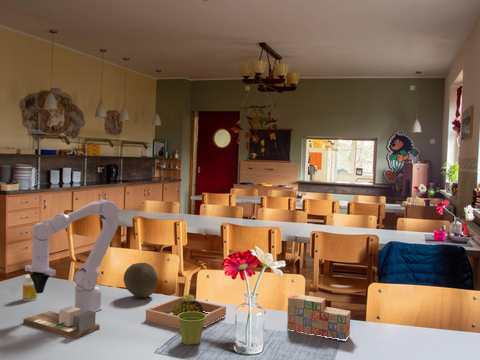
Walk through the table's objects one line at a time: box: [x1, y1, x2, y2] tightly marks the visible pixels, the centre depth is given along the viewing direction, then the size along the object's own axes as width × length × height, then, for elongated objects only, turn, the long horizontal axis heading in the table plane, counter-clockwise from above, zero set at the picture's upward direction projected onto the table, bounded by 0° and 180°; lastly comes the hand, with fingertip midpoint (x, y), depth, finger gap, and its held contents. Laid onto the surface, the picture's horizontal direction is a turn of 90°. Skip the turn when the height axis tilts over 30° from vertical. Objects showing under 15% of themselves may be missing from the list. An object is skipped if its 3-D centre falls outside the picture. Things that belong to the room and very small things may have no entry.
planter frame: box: [145, 296, 227, 330], centre depth 178 cm, size 21×22×4 cm
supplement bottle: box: [22, 274, 38, 302], centre depth 195 cm, size 5×5×10 cm
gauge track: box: [22, 310, 100, 339], centre depth 165 cm, size 11×26×6 cm, turn 60°
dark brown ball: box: [123, 262, 159, 298], centre depth 203 cm, size 14×14×15 cm
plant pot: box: [178, 312, 206, 346], centre depth 154 cm, size 9×9×9 cm
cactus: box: [170, 294, 206, 316], centre depth 175 cm, size 17×16×10 cm
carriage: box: [56, 306, 81, 326], centre depth 161 cm, size 8×5×5 cm, turn 150°
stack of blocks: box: [286, 293, 352, 339], centre depth 166 cm, size 21×6×12 cm, turn 63°
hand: (39, 292), depth 172 cm, fingers closed
